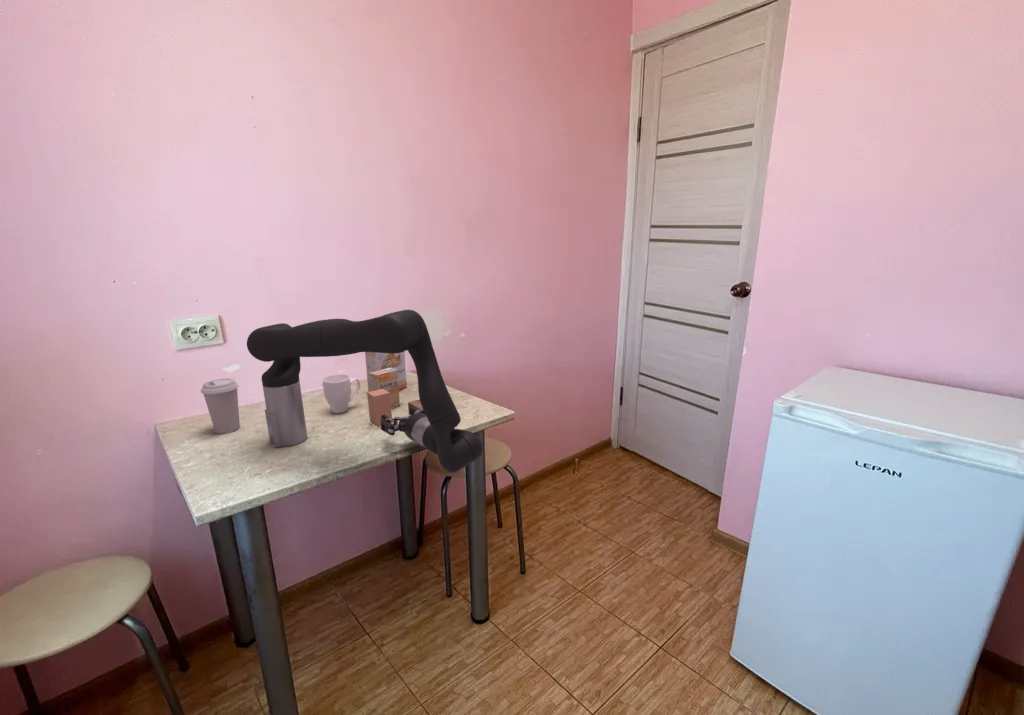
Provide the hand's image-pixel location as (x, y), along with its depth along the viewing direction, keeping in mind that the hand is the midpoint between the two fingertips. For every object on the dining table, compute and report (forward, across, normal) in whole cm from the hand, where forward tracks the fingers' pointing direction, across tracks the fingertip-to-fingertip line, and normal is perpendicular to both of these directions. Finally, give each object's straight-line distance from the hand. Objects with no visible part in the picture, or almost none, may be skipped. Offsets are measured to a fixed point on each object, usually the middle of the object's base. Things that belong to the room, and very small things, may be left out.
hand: (396, 414), depth 133 cm
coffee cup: (+38, +37, +6) cm, 54 cm away
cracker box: (+37, -15, +6) cm, 41 cm away
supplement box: (+22, -7, +6) cm, 24 cm away
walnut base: (+7, -15, +6) cm, 18 cm away
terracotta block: (+11, 0, +6) cm, 13 cm away
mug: (+30, +4, +6) cm, 31 cm away
